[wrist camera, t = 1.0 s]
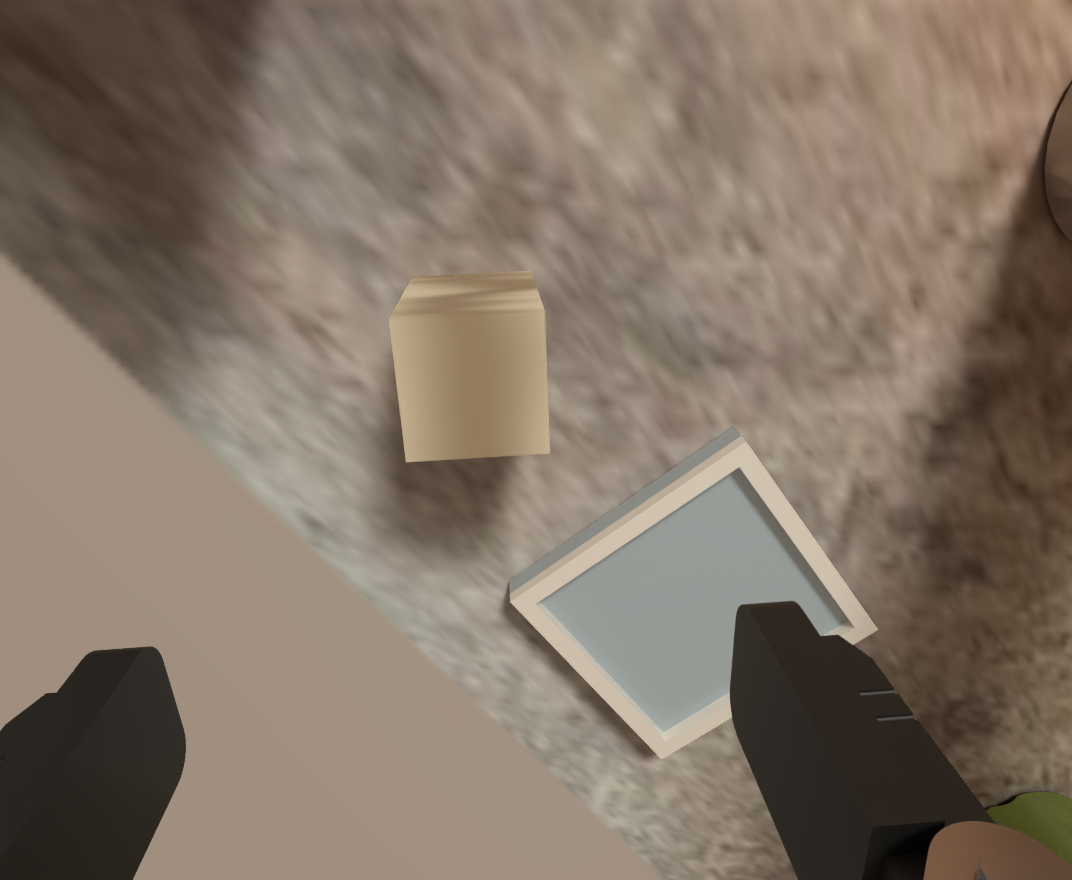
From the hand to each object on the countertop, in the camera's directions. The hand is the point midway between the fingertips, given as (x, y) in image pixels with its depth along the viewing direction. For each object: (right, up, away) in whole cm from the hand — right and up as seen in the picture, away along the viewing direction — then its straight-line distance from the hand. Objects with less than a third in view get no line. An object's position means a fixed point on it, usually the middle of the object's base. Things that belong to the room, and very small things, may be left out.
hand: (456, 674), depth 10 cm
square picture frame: (+8, -4, +23) cm, 25 cm away
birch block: (-1, +8, +18) cm, 20 cm away
